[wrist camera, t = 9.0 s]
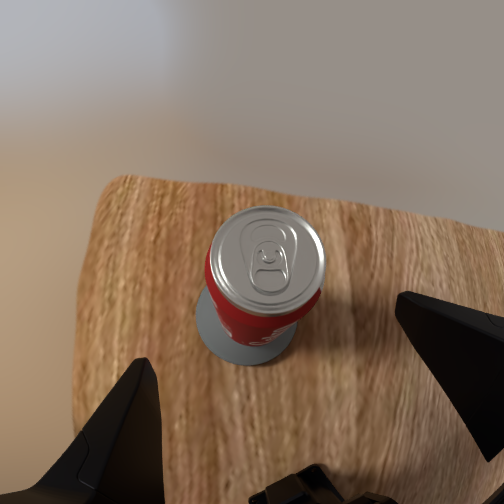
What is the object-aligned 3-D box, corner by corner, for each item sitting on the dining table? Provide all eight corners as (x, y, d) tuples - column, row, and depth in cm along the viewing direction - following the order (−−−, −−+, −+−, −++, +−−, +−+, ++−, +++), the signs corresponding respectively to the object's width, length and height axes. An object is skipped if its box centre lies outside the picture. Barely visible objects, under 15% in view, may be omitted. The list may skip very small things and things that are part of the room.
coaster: (313, 332, 22) (316, 331, 22) (228, 383, 20) (228, 383, 20) (263, 253, 25) (264, 250, 24) (180, 297, 23) (178, 295, 22)
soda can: (284, 282, 23) (326, 199, 12) (287, 346, 21) (341, 319, 10) (219, 282, 23) (204, 196, 12) (219, 347, 21) (197, 322, 10)
